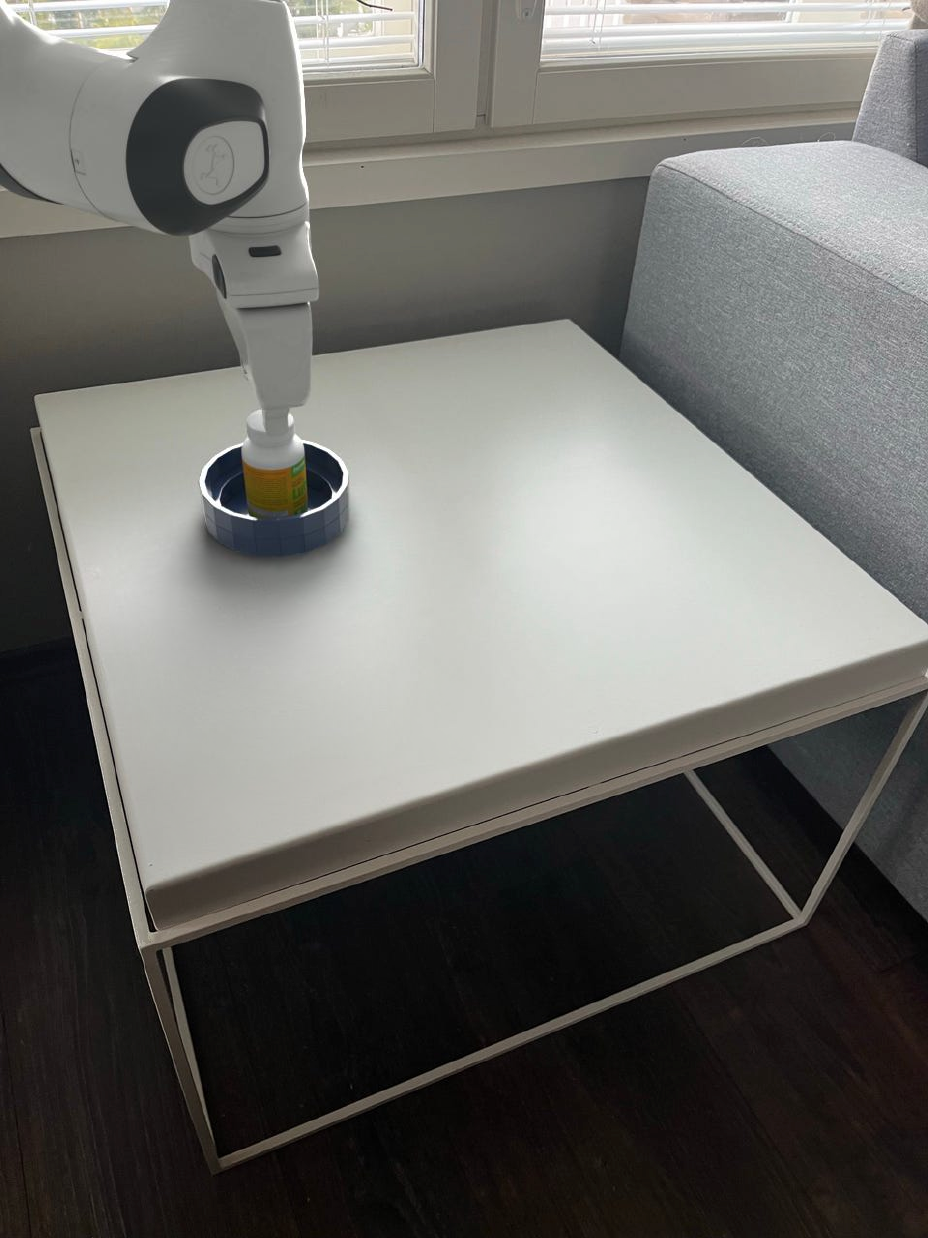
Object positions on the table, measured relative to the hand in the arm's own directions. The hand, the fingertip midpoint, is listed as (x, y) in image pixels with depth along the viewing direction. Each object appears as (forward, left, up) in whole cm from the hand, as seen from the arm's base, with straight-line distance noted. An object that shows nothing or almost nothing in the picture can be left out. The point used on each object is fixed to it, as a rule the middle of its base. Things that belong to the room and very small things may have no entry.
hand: (264, 402), depth 81 cm
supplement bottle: (0, 0, -12) cm, 12 cm away
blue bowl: (0, 0, -12) cm, 12 cm away
